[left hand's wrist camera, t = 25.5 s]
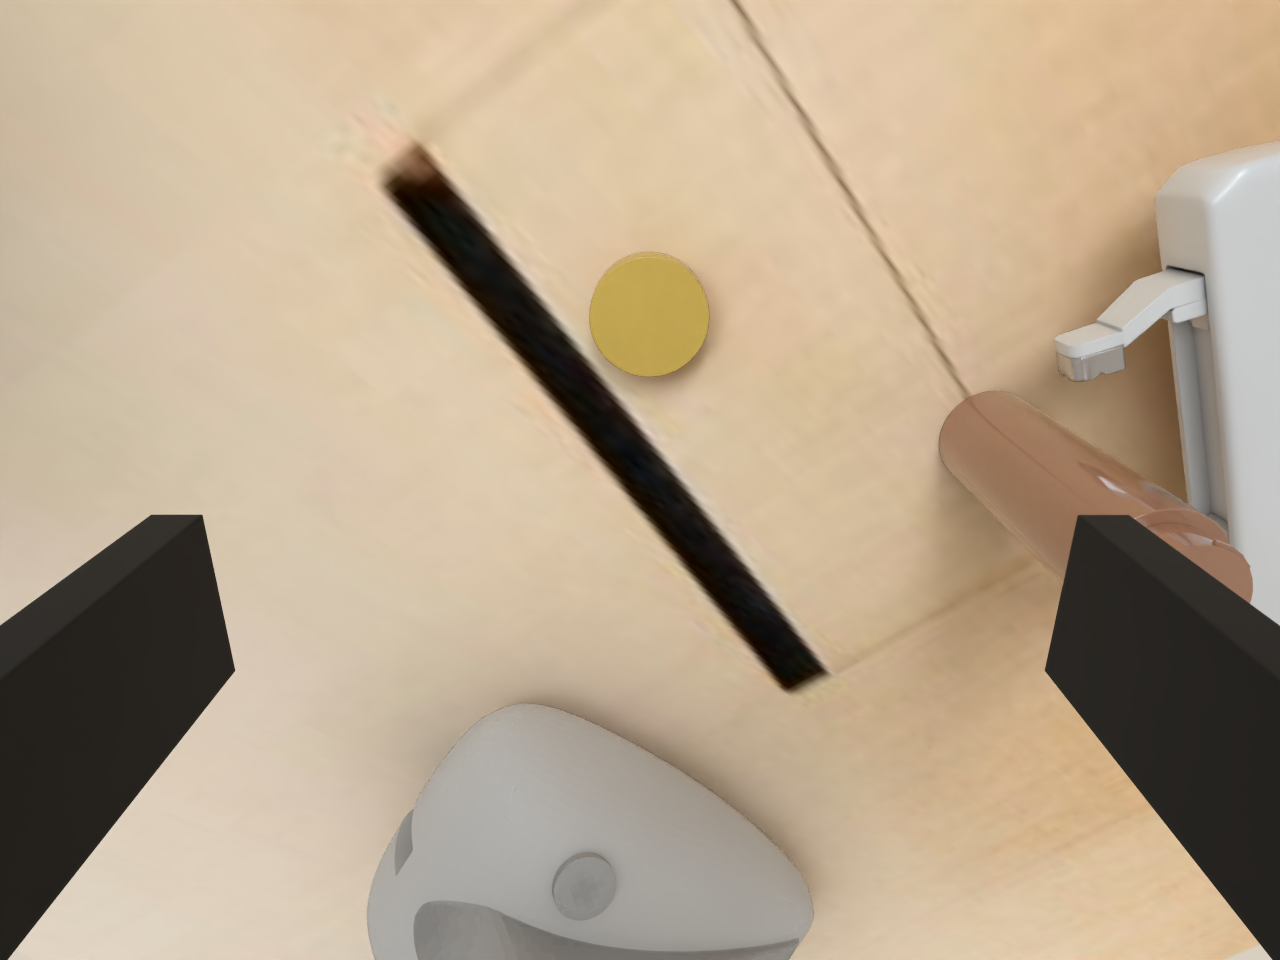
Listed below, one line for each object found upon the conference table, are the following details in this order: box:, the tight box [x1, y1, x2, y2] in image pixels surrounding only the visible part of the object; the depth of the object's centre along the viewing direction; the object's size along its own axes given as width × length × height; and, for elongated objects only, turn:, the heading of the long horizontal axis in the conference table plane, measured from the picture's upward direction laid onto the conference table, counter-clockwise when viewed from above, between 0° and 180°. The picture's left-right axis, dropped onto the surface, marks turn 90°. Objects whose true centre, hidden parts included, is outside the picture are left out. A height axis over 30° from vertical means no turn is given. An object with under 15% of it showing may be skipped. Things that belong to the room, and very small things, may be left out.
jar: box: [939, 391, 1253, 603], centre depth 32 cm, size 5×5×15 cm
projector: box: [367, 703, 814, 960], centre depth 40 cm, size 22×23×15 cm
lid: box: [589, 252, 709, 377], centre depth 36 cm, size 5×5×2 cm
